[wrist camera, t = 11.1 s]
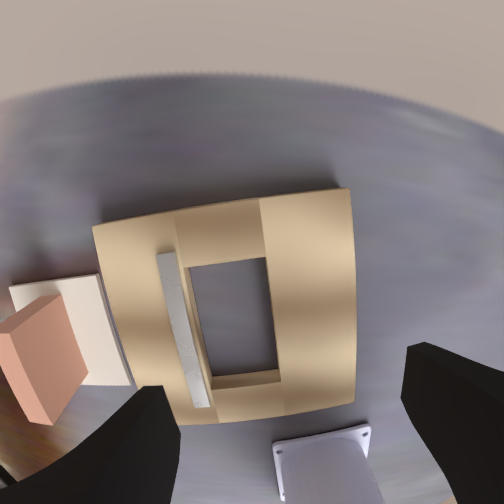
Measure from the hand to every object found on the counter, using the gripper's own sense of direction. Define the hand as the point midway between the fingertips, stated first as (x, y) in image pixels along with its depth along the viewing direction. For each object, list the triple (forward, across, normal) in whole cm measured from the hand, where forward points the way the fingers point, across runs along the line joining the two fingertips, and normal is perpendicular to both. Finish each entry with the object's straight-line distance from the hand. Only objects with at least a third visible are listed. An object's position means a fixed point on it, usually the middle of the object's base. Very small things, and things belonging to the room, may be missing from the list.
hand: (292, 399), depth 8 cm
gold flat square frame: (+10, +2, +2) cm, 11 cm away
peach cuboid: (+10, +14, +2) cm, 17 cm away
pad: (+10, +14, +2) cm, 18 cm away
